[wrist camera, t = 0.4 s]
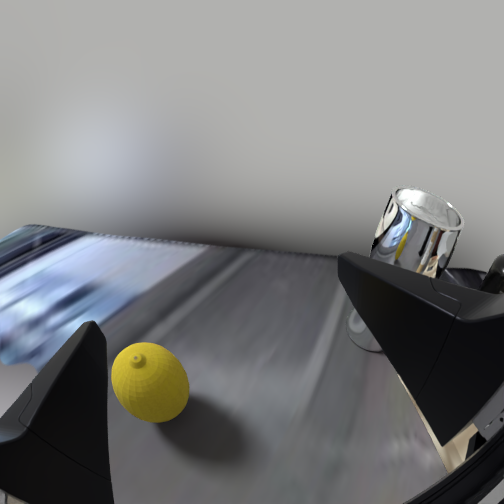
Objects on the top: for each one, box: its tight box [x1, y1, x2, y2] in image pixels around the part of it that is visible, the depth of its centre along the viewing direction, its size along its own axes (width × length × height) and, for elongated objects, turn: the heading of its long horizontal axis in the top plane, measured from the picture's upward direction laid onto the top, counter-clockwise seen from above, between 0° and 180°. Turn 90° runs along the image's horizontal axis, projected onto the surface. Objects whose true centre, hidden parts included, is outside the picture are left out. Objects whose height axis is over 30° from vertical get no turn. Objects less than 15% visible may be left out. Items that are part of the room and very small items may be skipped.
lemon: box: [111, 342, 189, 423], centre depth 17 cm, size 6×6×8 cm
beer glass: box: [346, 186, 464, 352], centre depth 23 cm, size 7×7×15 cm
